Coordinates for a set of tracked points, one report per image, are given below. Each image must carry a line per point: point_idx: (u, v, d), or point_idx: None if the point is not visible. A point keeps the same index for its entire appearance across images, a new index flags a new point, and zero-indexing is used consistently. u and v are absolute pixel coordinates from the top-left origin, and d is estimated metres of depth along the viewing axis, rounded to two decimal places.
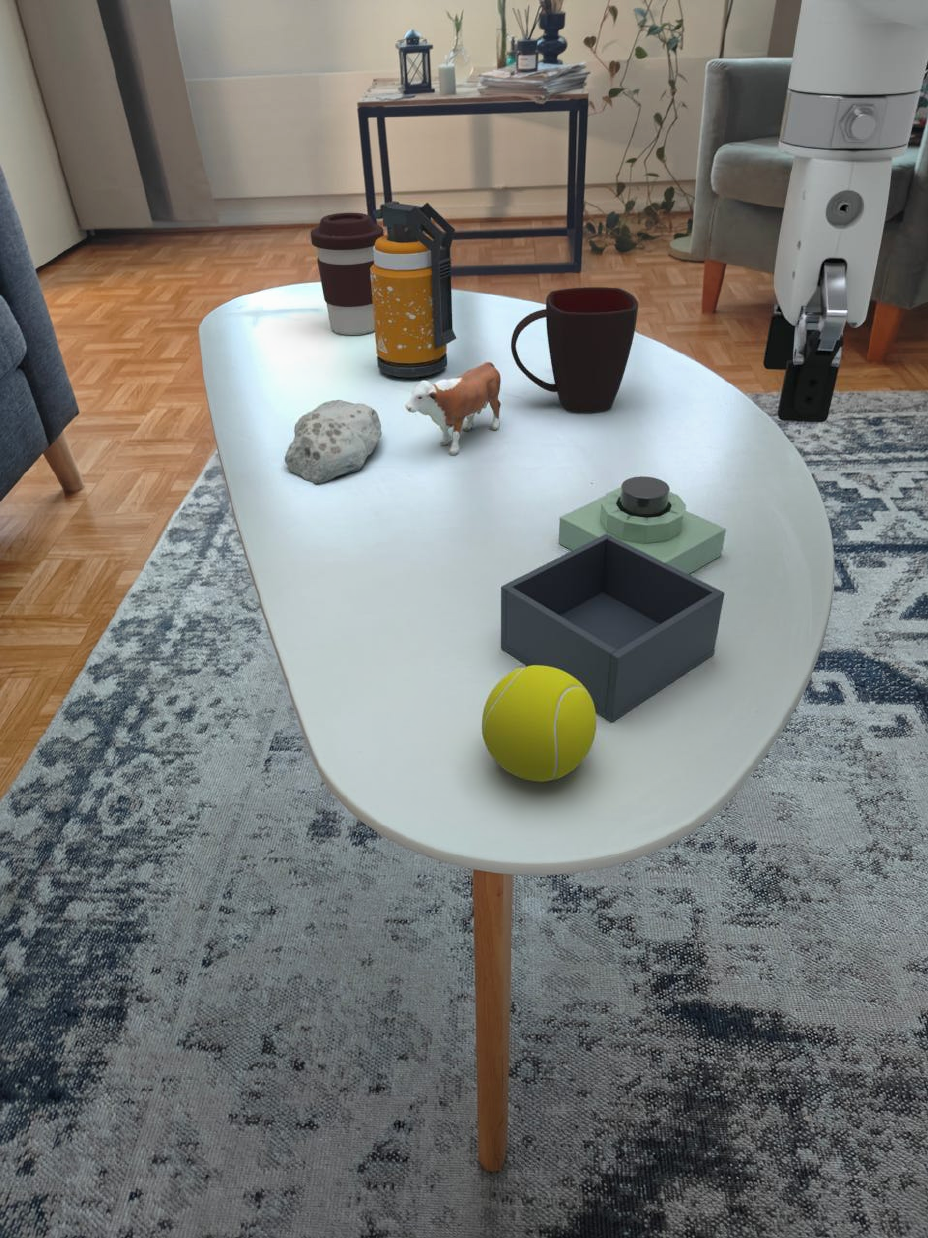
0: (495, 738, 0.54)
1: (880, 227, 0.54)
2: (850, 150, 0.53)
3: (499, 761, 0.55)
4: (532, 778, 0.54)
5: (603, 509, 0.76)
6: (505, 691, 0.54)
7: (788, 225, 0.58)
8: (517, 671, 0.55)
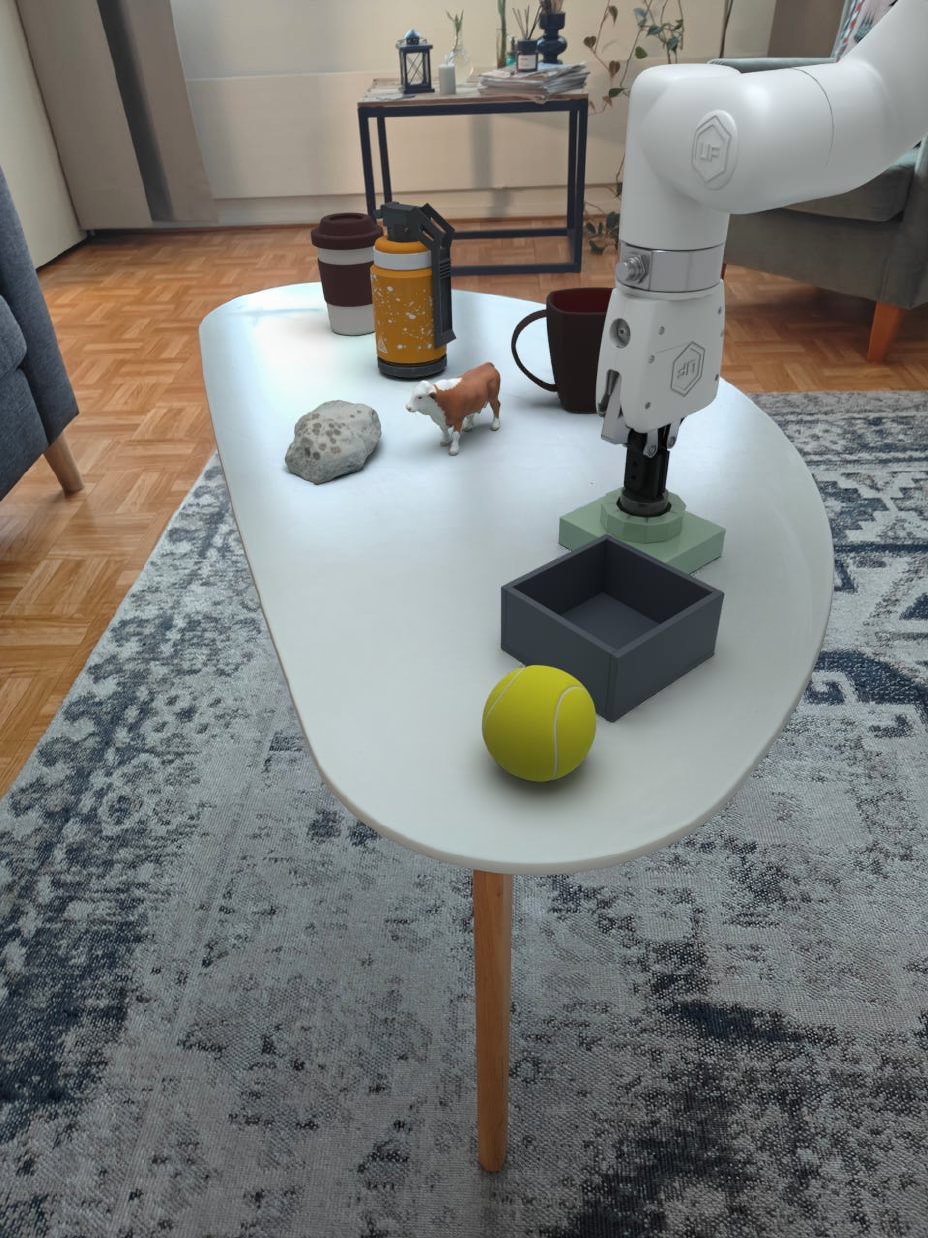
0: (495, 738, 0.54)
1: (643, 354, 0.64)
2: (633, 287, 0.64)
3: (499, 761, 0.55)
4: (532, 778, 0.54)
5: (603, 509, 0.76)
6: (505, 691, 0.54)
7: None
8: (517, 671, 0.55)
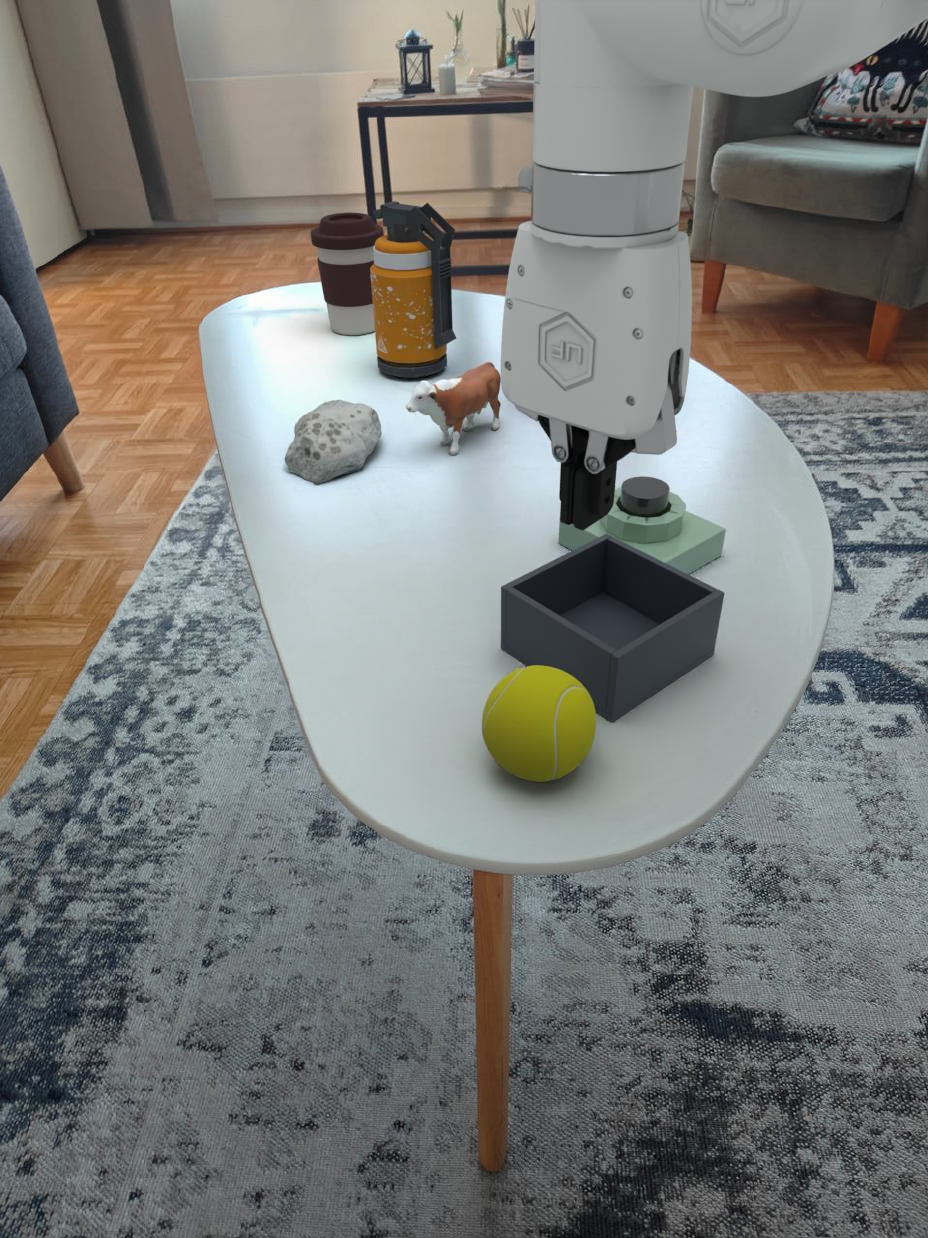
0: (495, 738, 0.54)
1: None
2: None
3: (499, 761, 0.55)
4: (532, 778, 0.54)
5: None
6: (505, 691, 0.54)
7: None
8: (517, 671, 0.55)
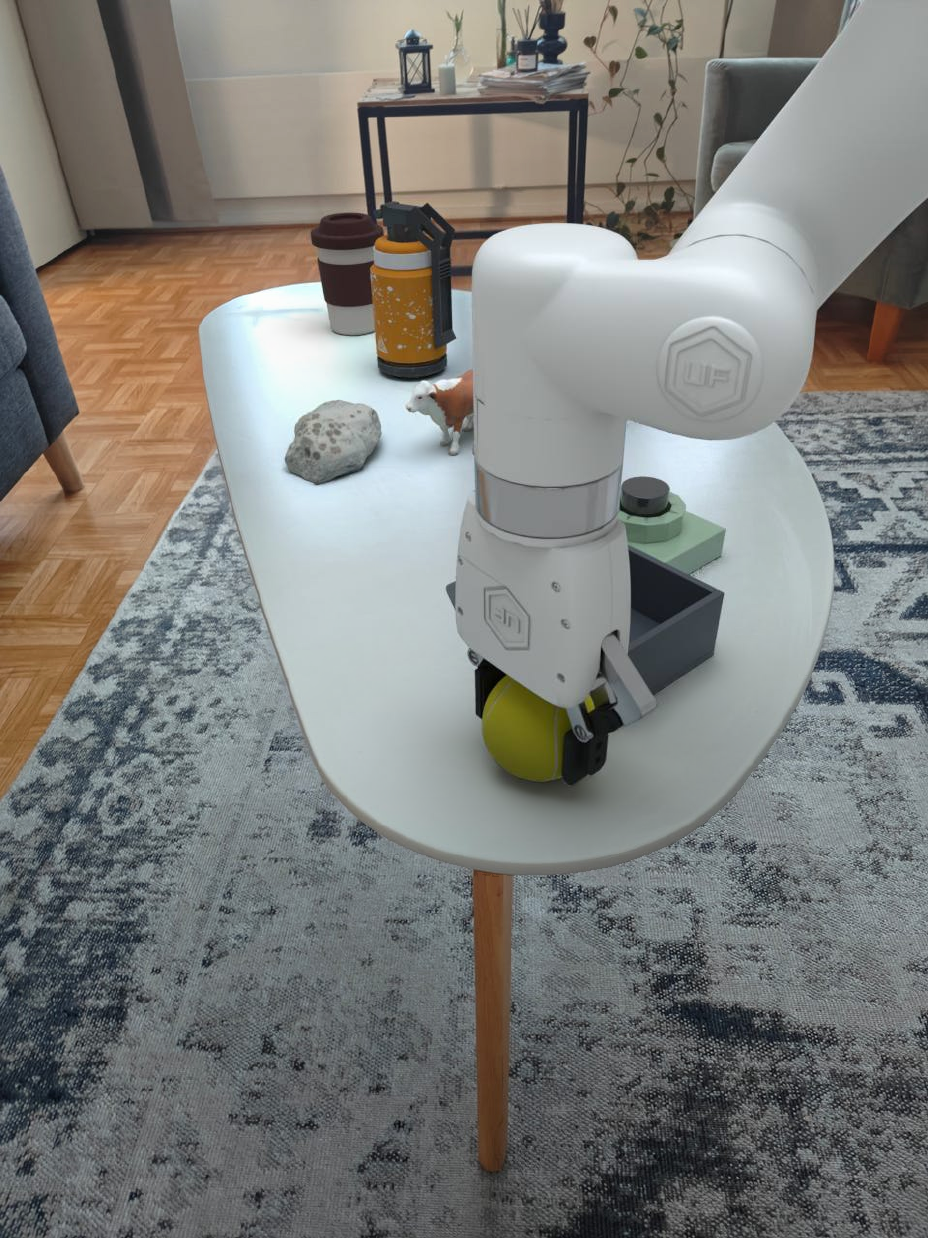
0: (495, 738, 0.54)
1: (458, 548, 0.51)
2: None
3: (499, 761, 0.55)
4: (532, 778, 0.54)
5: None
6: (505, 691, 0.54)
7: None
8: None
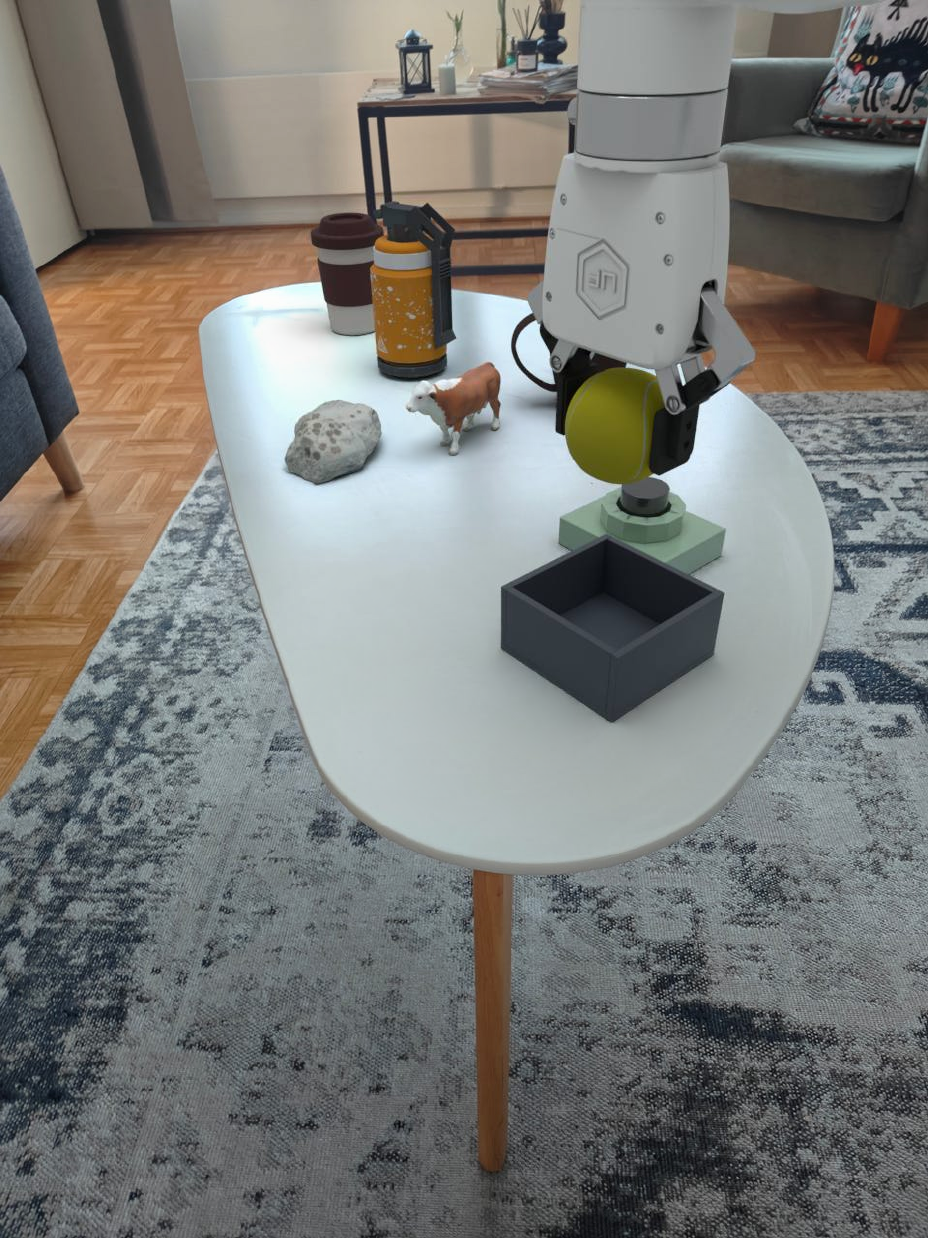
0: (581, 431, 0.54)
1: (549, 223, 0.51)
2: None
3: (584, 459, 0.55)
4: (617, 474, 0.55)
5: (603, 509, 0.76)
6: (591, 384, 0.54)
7: None
8: (601, 372, 0.55)
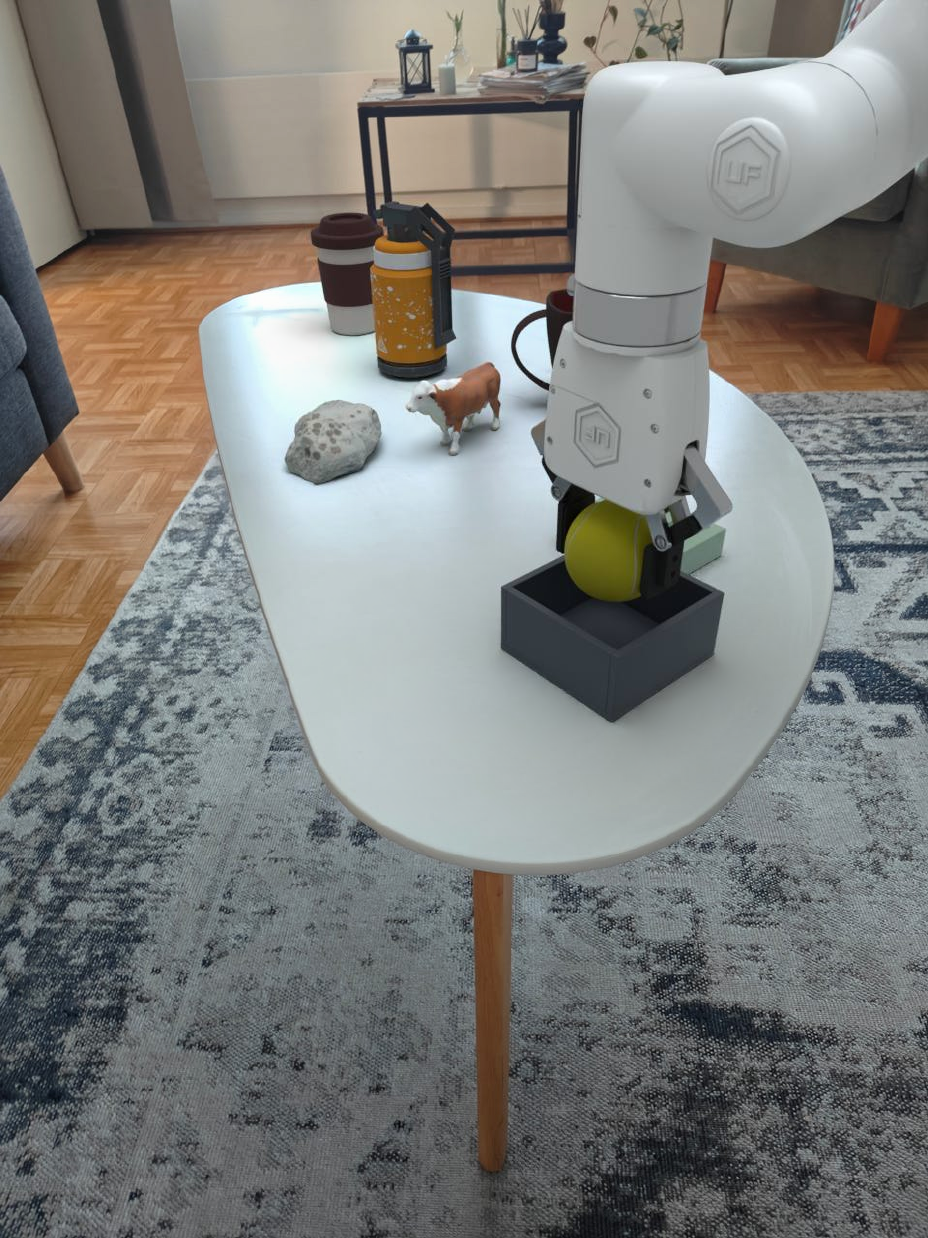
0: (579, 558, 0.60)
1: (550, 380, 0.57)
2: None
3: (581, 582, 0.61)
4: (611, 596, 0.61)
5: None
6: (587, 516, 0.60)
7: None
8: (597, 502, 0.62)
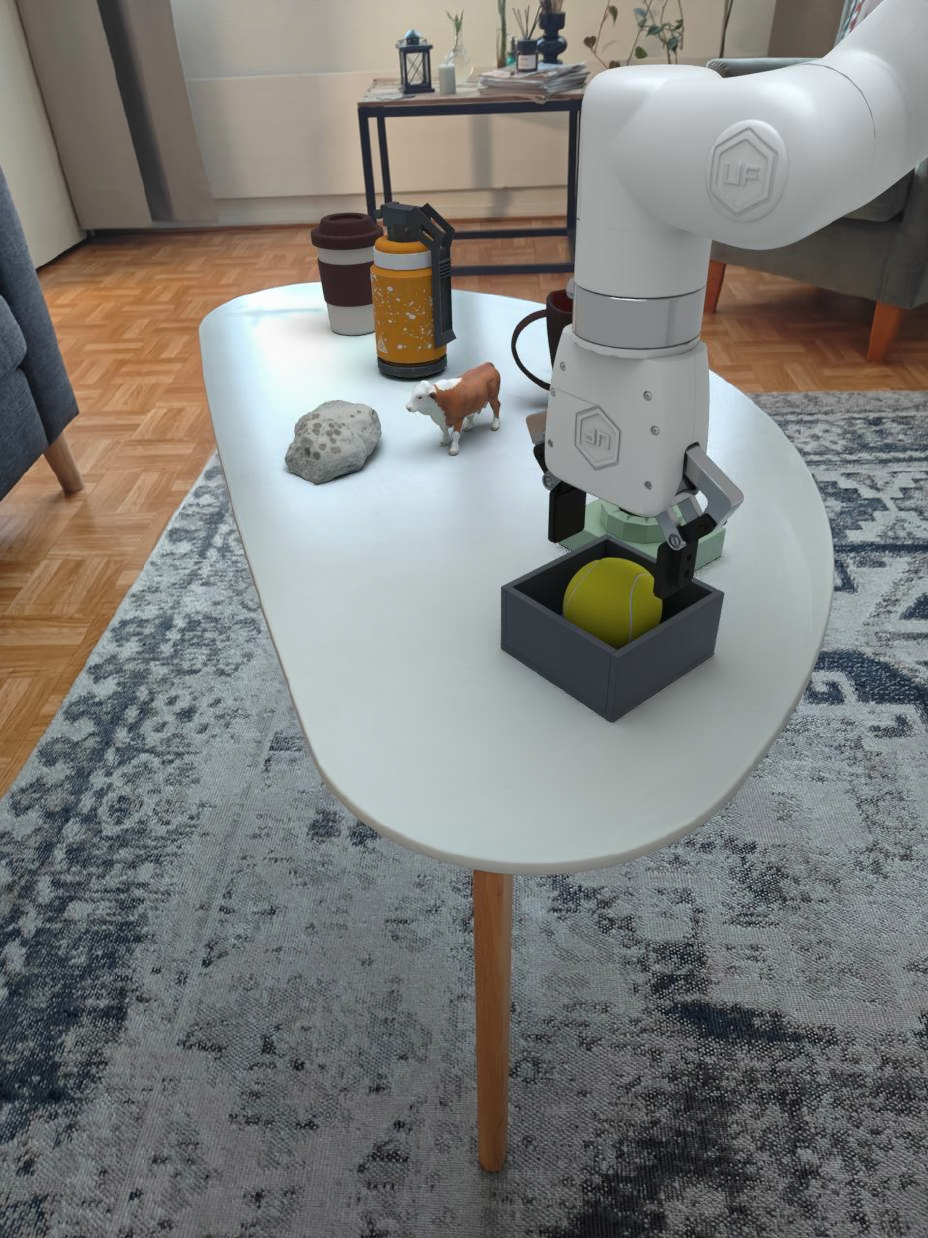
0: (577, 617, 0.63)
1: None
2: None
3: None
4: None
5: (603, 509, 0.76)
6: (585, 576, 0.63)
7: None
8: (594, 561, 0.64)
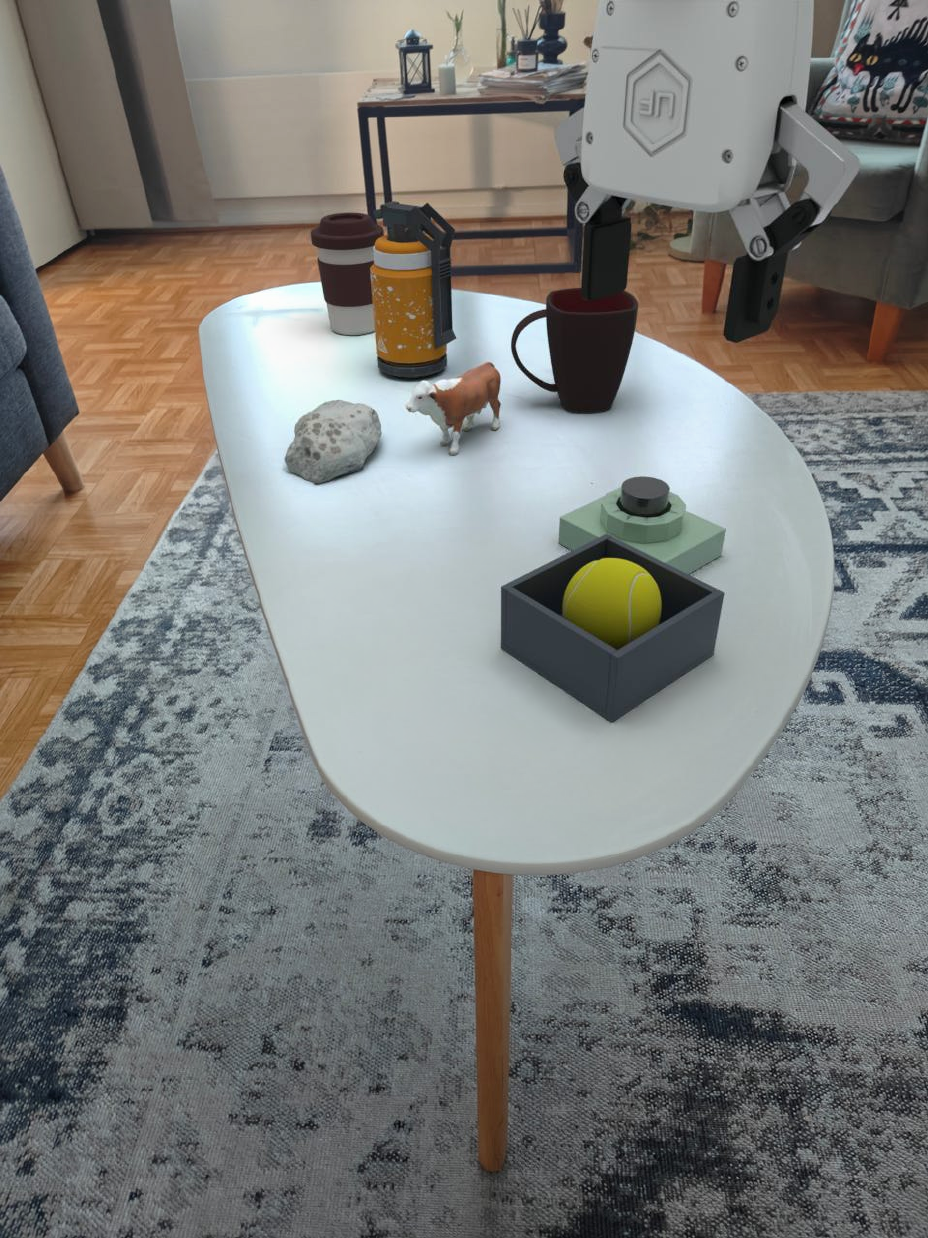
0: (576, 617, 0.63)
1: None
2: None
3: None
4: None
5: (603, 509, 0.76)
6: (584, 576, 0.63)
7: None
8: (593, 562, 0.64)
